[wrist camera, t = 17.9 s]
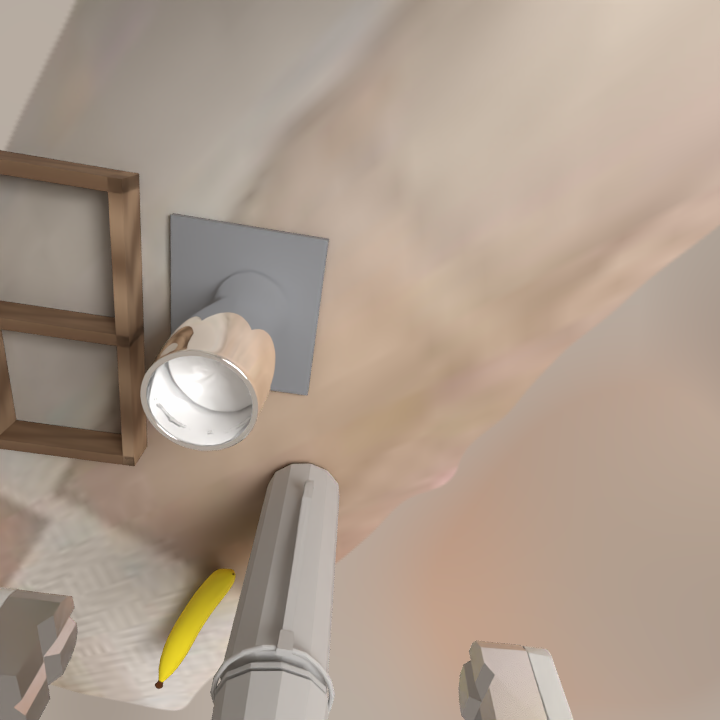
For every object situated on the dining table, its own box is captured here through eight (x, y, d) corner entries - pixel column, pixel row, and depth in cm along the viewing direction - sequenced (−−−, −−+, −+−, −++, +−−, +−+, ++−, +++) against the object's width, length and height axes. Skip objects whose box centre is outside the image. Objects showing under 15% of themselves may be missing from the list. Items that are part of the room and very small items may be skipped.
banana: (256, 541, 55) (244, 592, 49) (187, 639, 62) (170, 693, 56) (231, 530, 54) (216, 581, 48) (164, 631, 61) (144, 685, 56)
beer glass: (275, 254, 40) (229, 331, 27) (307, 332, 43) (281, 437, 30) (194, 281, 41) (111, 368, 28) (231, 355, 44) (172, 466, 31)
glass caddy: (-44, 143, 37) (-76, 146, 34) (139, 173, 38) (121, 179, 35) (6, 427, 48) (-15, 446, 46) (147, 446, 49) (134, 466, 46)
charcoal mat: (173, 213, 39) (170, 214, 39) (328, 238, 40) (328, 240, 39) (173, 372, 45) (171, 375, 45) (308, 392, 46) (307, 395, 46)
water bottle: (335, 520, 53) (314, 824, 31) (259, 506, 52) (182, 807, 30) (356, 450, 49) (349, 742, 27) (274, 434, 48) (198, 720, 26)
